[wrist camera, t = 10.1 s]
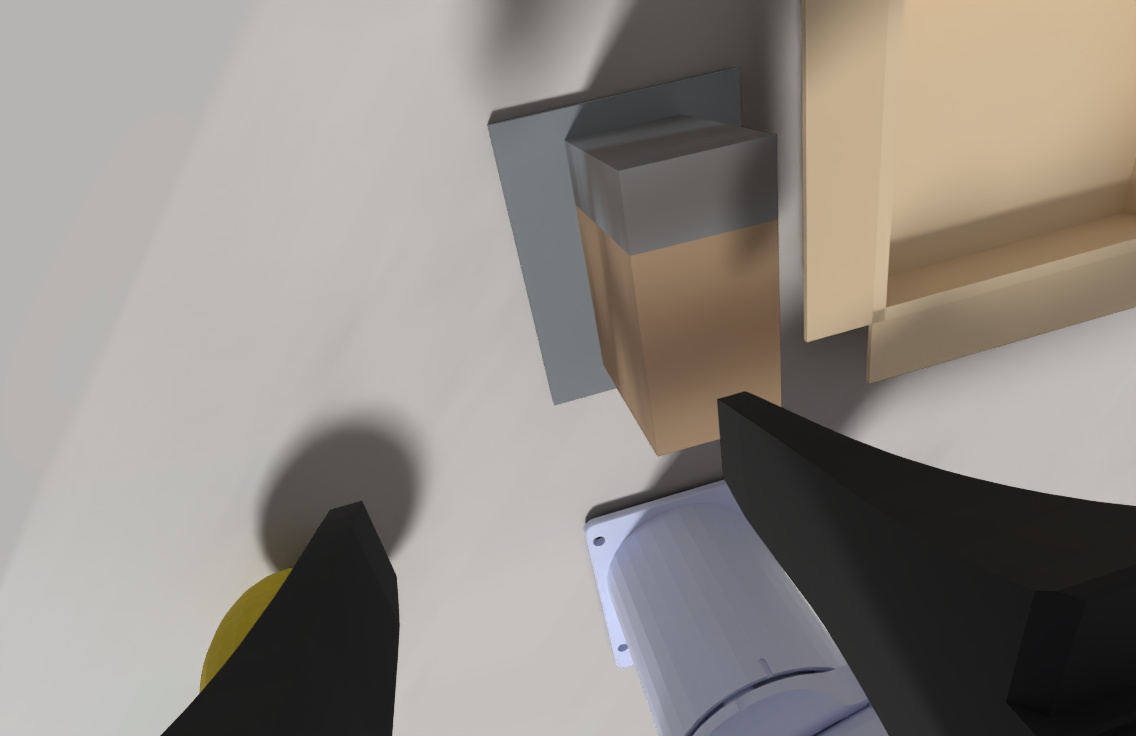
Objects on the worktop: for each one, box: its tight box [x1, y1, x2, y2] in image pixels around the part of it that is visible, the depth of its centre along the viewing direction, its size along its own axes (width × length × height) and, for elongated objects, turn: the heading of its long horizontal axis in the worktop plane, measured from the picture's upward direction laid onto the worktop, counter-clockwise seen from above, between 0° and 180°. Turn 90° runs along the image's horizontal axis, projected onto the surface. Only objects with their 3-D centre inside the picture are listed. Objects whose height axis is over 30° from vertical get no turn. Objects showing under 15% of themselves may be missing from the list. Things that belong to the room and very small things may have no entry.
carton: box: [802, 0, 1136, 384], centre depth 21 cm, size 16×18×2 cm
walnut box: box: [564, 114, 781, 456], centre depth 18 cm, size 8×4×6 cm, turn 10°
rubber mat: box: [487, 68, 742, 405], centre depth 21 cm, size 10×8×1 cm
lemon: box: [200, 567, 294, 692], centre depth 21 cm, size 6×6×8 cm
